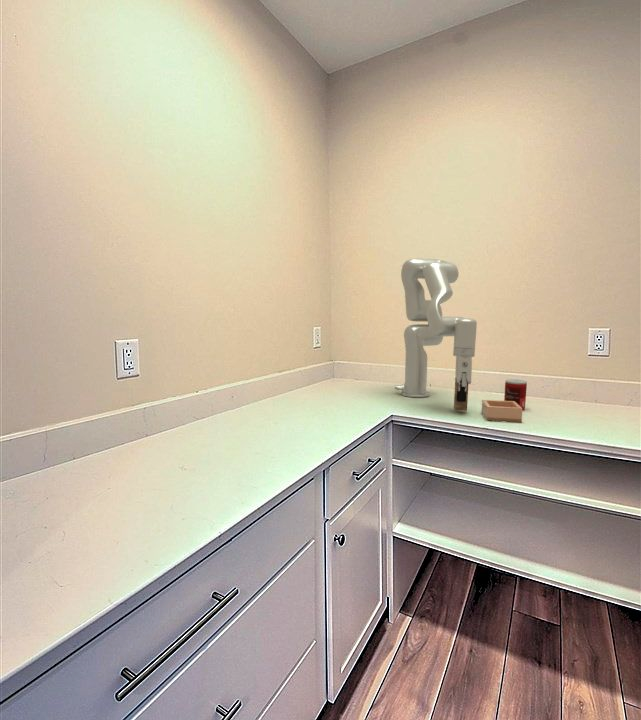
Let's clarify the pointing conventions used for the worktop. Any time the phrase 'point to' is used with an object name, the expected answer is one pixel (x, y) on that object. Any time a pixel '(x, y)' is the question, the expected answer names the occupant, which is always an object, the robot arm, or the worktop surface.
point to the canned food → (516, 391)
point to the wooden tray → (501, 411)
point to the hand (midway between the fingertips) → (460, 399)
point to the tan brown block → (460, 405)
